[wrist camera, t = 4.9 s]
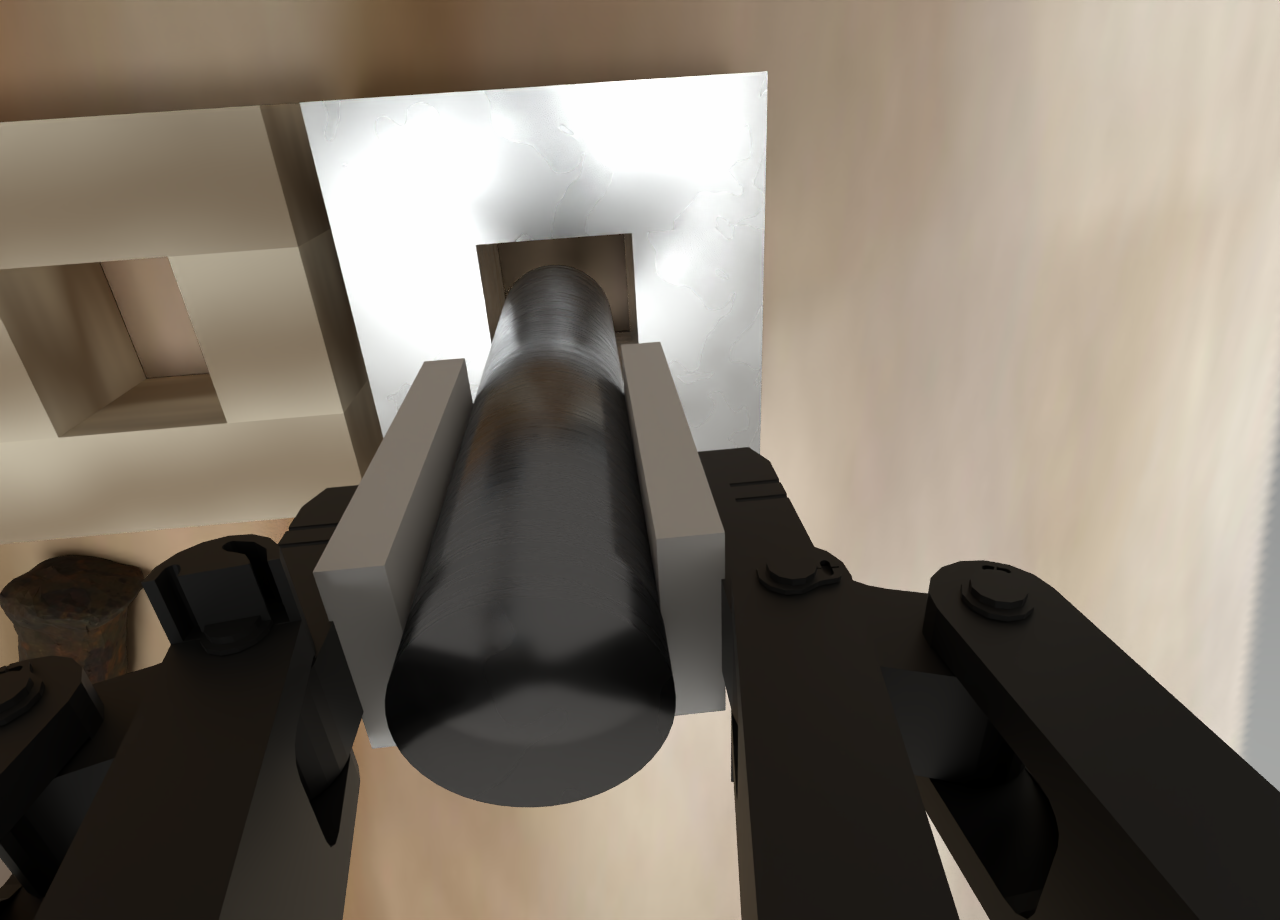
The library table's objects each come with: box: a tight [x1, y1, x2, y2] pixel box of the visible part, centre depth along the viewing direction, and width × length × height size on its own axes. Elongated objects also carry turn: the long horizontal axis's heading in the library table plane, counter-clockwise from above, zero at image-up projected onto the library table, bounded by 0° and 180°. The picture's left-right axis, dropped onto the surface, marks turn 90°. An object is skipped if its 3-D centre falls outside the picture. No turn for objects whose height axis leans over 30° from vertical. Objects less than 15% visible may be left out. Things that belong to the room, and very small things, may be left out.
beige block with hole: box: [0, 103, 383, 544], centre depth 23 cm, size 12×12×5 cm
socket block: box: [300, 71, 768, 454], centre depth 23 cm, size 12×12×5 cm
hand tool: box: [0, 555, 144, 684], centre depth 31 cm, size 19×4×5 cm, turn 159°
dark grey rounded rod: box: [385, 265, 676, 807], centre depth 14 cm, size 3×3×14 cm
